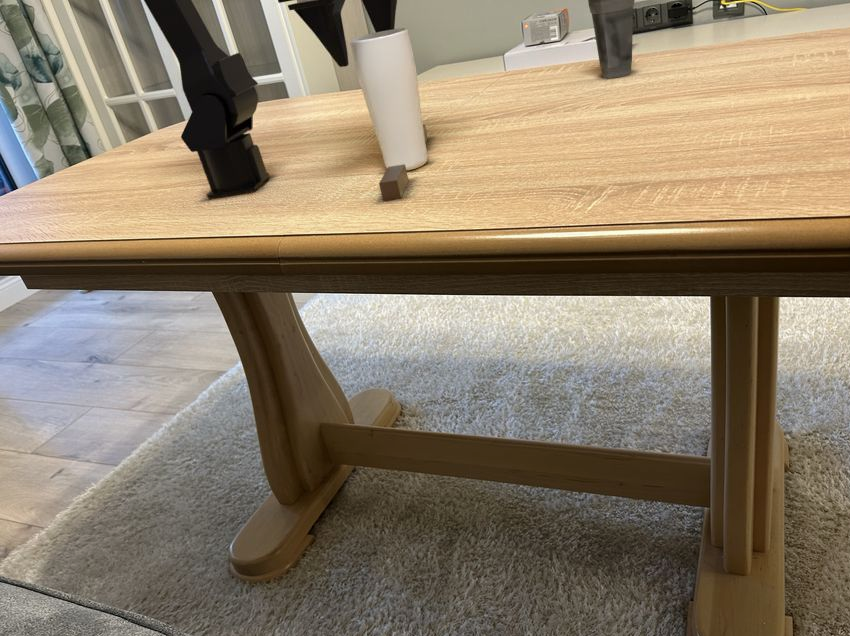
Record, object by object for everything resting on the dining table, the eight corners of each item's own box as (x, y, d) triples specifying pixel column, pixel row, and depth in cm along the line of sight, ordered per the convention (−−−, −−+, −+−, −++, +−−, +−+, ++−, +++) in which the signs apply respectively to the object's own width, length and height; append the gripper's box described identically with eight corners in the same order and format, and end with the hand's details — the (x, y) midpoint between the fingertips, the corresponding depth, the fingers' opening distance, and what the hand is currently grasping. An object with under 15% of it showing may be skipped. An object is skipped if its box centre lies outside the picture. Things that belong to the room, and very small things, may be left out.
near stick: (401, 198, 75) (396, 180, 74) (383, 201, 76) (378, 183, 75) (408, 181, 81) (405, 164, 80) (391, 183, 81) (387, 166, 80)
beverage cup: (585, 77, 114) (572, -64, 104) (626, 67, 115) (617, -74, 105) (606, 82, 108) (595, -68, 98) (649, 71, 109) (642, -78, 99)
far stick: (422, 150, 92) (419, 135, 91) (407, 152, 92) (404, 137, 91) (428, 138, 97) (425, 124, 96) (413, 141, 97) (410, 126, 96)
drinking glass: (427, 171, 83) (398, 34, 75) (373, 178, 84) (340, 44, 77) (440, 154, 88) (415, 25, 81) (389, 160, 90) (360, 34, 83)
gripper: (340, -115, 63) (380, 69, 70) (441, -121, 76) (465, 34, 84) (248, -91, 68) (295, 78, 76) (358, -100, 82) (388, 44, 89)
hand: (367, 57), depth 81 cm, fingers open, 9 cm apart
